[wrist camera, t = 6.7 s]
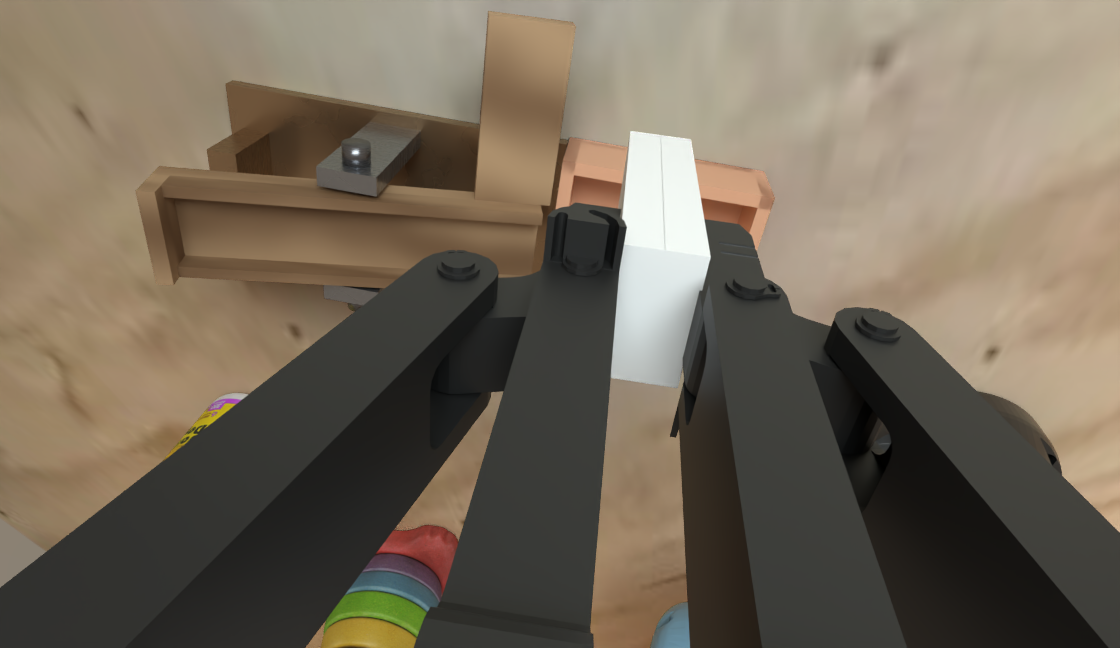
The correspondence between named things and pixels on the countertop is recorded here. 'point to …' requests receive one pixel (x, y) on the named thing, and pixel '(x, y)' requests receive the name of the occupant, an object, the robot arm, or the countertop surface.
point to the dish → (723, 188)
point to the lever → (398, 211)
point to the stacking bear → (393, 591)
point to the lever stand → (353, 151)
